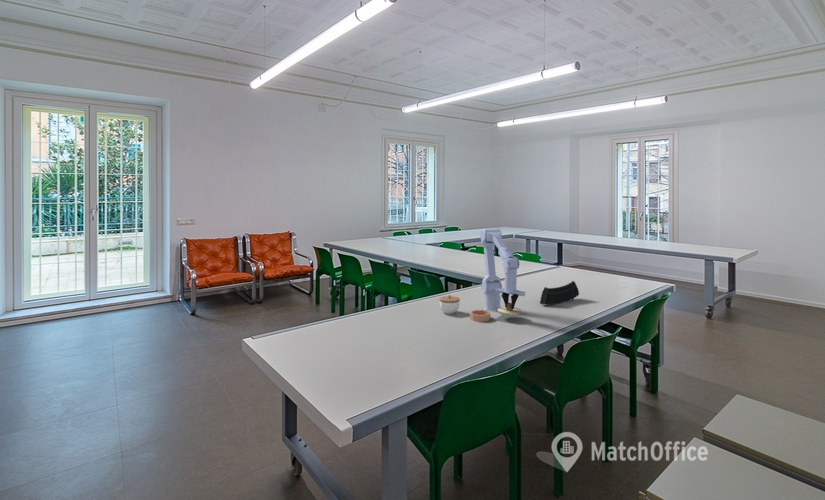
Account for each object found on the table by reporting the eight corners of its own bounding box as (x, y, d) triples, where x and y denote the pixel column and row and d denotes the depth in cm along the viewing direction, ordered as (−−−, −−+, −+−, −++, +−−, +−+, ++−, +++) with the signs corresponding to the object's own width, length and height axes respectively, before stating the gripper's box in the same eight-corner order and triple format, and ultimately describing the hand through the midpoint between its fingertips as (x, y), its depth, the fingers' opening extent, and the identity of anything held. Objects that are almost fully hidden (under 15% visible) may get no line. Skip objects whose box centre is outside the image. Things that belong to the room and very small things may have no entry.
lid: (502, 307, 223) (502, 299, 222) (525, 310, 216) (525, 302, 216) (493, 312, 213) (494, 304, 212) (517, 316, 206) (517, 307, 206)
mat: (502, 315, 223) (502, 314, 223) (525, 318, 217) (525, 317, 217) (493, 320, 213) (493, 320, 213) (517, 324, 207) (517, 324, 207)
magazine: (541, 291, 236) (575, 270, 250) (537, 290, 239) (571, 270, 253) (546, 319, 241) (579, 297, 255) (542, 317, 244) (575, 295, 258)
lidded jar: (463, 313, 228) (463, 295, 226) (447, 316, 222) (447, 298, 220) (450, 308, 236) (450, 292, 235) (435, 311, 230) (435, 294, 229)
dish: (475, 315, 223) (475, 308, 223) (493, 318, 218) (493, 311, 217) (466, 320, 215) (466, 313, 214) (485, 323, 209) (485, 316, 209)
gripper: (493, 281, 213) (493, 308, 215) (522, 285, 205) (521, 312, 207) (498, 279, 219) (498, 304, 221) (526, 282, 211) (525, 308, 213)
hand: (509, 308), depth 214 cm, fingers closed on lid, 2 cm apart
